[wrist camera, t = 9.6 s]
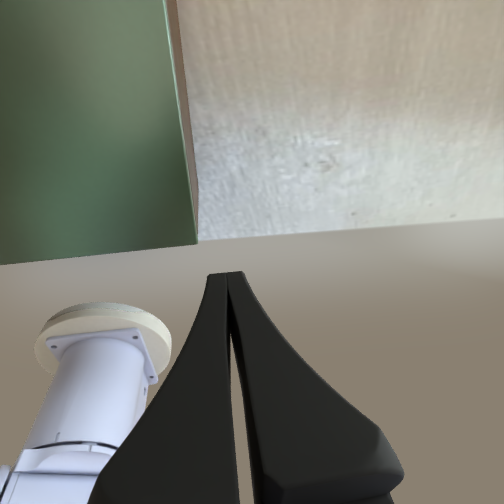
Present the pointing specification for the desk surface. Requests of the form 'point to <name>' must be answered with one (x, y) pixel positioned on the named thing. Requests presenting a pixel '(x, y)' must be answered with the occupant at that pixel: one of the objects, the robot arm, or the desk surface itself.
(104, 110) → the lid
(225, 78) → the desk surface
